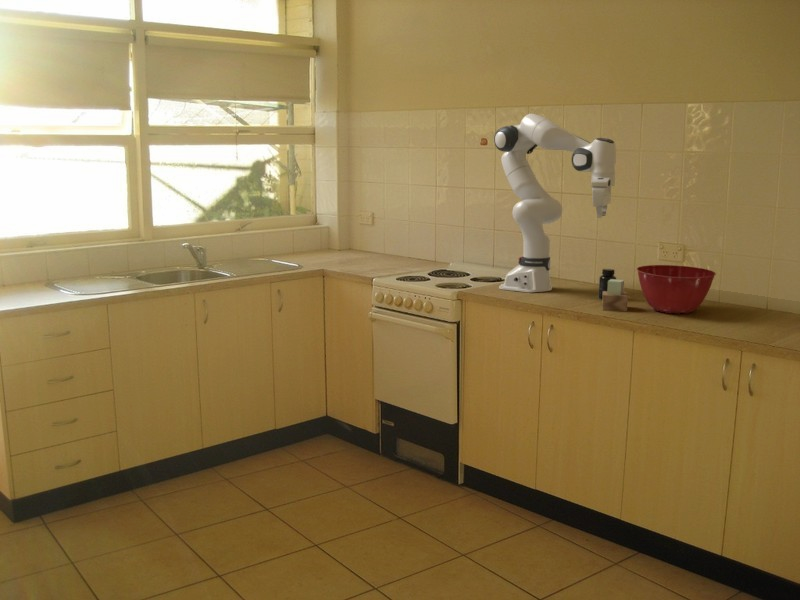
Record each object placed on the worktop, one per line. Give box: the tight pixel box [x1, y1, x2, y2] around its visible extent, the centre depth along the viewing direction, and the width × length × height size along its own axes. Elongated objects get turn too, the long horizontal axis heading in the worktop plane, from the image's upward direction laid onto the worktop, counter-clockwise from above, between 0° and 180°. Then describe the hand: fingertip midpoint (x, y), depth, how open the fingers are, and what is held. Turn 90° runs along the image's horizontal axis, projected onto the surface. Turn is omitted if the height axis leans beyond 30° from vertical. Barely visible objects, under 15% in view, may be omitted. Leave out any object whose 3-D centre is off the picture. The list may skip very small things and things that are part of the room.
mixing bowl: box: [636, 264, 717, 315], centre depth 311 cm, size 28×28×16 cm
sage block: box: [607, 278, 625, 295], centre depth 314 cm, size 5×5×5 cm
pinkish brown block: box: [601, 291, 629, 312], centre depth 315 cm, size 9×9×6 cm
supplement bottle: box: [597, 268, 618, 300], centre depth 334 cm, size 7×7×12 cm
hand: (601, 216), depth 319 cm, fingers open, 8 cm apart
